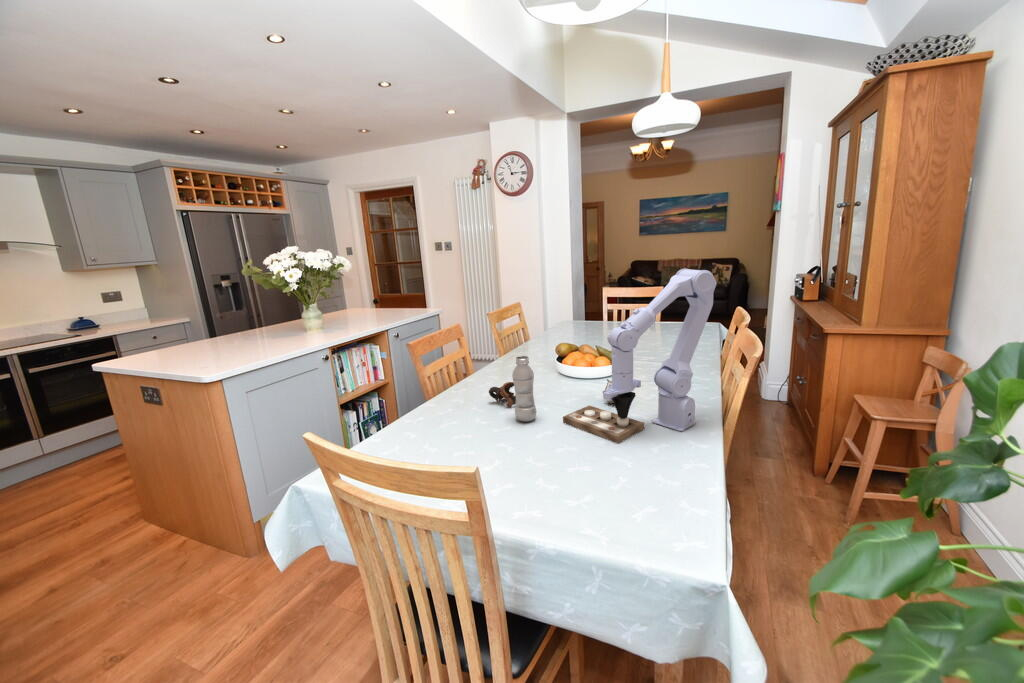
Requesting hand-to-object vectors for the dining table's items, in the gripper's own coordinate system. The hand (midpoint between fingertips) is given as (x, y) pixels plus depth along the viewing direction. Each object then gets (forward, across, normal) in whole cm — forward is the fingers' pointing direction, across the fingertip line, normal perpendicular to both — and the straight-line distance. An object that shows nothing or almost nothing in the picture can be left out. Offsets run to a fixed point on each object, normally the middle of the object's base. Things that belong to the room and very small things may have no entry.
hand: (622, 417), depth 123 cm
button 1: (+4, 0, -12) cm, 13 cm away
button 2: (+2, 0, 0) cm, 2 cm away
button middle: (+2, 0, -6) cm, 6 cm away
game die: (+4, -16, -14) cm, 21 cm away
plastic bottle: (+4, +14, -26) cm, 30 cm away
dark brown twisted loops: (+4, +8, -42) cm, 43 cm away
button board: (+4, +2, -6) cm, 7 cm away
